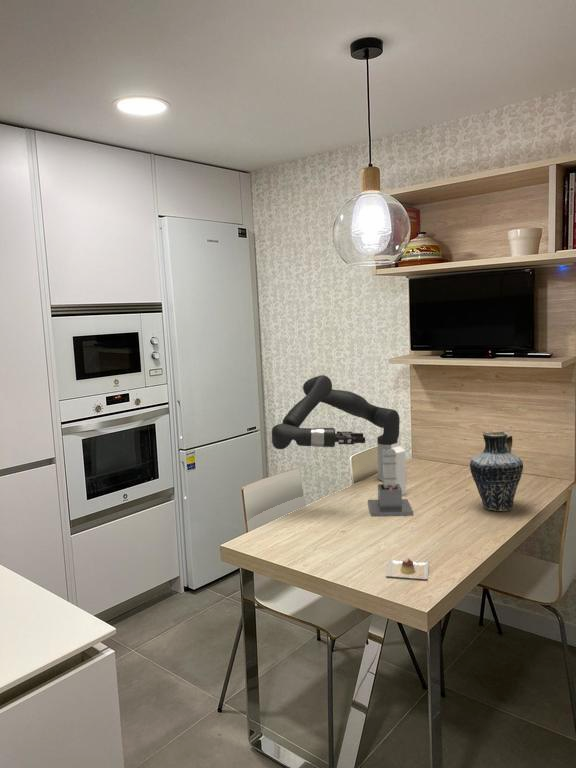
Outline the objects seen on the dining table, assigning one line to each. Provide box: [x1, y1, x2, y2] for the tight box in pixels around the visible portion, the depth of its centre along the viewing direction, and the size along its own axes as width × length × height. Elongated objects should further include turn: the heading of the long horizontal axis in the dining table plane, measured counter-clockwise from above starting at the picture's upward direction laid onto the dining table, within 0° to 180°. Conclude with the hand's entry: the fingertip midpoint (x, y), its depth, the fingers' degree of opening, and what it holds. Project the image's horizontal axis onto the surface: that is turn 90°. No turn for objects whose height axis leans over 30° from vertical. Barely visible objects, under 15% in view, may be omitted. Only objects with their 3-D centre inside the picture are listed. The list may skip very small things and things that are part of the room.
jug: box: [469, 430, 524, 512], centre depth 237 cm, size 21×19×30 cm
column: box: [382, 449, 396, 489], centre depth 240 cm, size 5×5×22 cm
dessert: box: [385, 557, 430, 580], centre depth 184 cm, size 12×12×5 cm
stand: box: [367, 483, 414, 517], centre depth 241 cm, size 16×16×10 cm
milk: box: [391, 442, 407, 496], centre depth 260 cm, size 6×6×22 cm
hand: (364, 438), depth 239 cm, fingers open, 8 cm apart
